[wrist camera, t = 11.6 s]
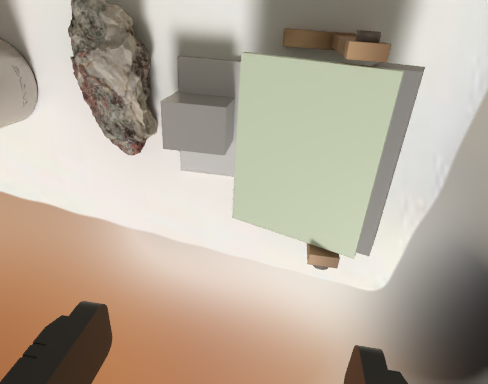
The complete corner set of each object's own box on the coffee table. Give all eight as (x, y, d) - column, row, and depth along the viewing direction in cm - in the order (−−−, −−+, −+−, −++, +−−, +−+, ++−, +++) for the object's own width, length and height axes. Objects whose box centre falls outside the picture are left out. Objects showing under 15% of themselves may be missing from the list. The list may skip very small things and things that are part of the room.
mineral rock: (71, -11, 32) (39, -15, 28) (151, -7, 31) (130, -11, 27) (96, 139, 39) (73, 152, 35) (162, 145, 38) (146, 160, 34)
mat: (181, 168, 39) (180, 170, 38) (179, 56, 33) (177, 56, 33) (296, 182, 37) (296, 184, 37) (313, 67, 32) (313, 68, 31)
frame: (266, 199, 39) (255, 262, 28) (285, 23, 30) (278, 25, 20) (338, 207, 38) (351, 276, 28) (376, 30, 30) (417, 34, 19)
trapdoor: (254, 197, 35) (232, 217, 31) (267, 49, 28) (241, 52, 24) (376, 234, 30) (366, 263, 26) (425, 66, 23) (421, 73, 20)
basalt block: (235, 97, 34) (176, 91, 34) (226, 107, 30) (160, 101, 30) (233, 140, 36) (178, 134, 36) (224, 155, 32) (163, 148, 32)
